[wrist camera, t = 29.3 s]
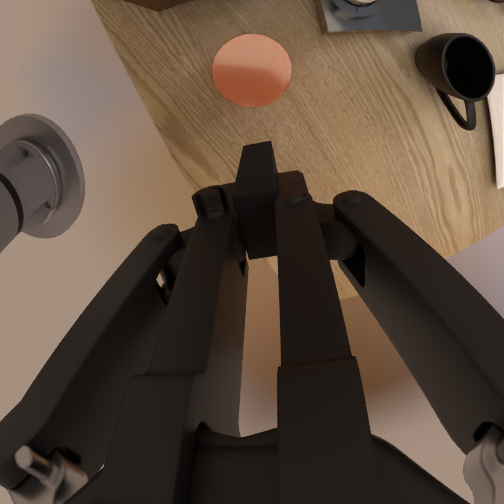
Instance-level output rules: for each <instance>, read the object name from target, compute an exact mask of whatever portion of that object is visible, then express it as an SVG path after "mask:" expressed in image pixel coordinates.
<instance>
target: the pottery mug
mask: <svg viewBox="0 0 504 504" xmlns="http://www.w3.org/2000/svg"><path fill="white" fill-rule="evenodd" d="M489 1H491V2H495V3H502V2H504V0H489Z"/></svg>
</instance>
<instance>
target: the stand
mask: <svg viewBox="0 0 504 504" xmlns="http://www.w3.org/2000/svg"><path fill="white" fill-rule="evenodd" d="M124 1H127V2H130V3H133V4H136V5H139V6H142V7H145V8H148V9H151V10H154V11H157V12H160V11H162V10H165V9H168V8H171V7H174V6H177V5H180V4H184V3H187V2H190V1H194V0H124Z"/></svg>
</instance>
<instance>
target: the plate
mask: <svg viewBox="0 0 504 504" xmlns="http://www.w3.org/2000/svg"><path fill="white" fill-rule="evenodd" d="M487 99H488V105H489V111H490V118H491V125H492V133H493V142H494V153H495V167H496V187H497V189H500V188H502V187H504V74H499V75H495V82H494V85H493V88H492V90H491V92H490V93H489V95H488V96H487Z"/></svg>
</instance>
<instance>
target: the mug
mask: <svg viewBox="0 0 504 504" xmlns="http://www.w3.org/2000/svg"><path fill="white" fill-rule="evenodd" d="M415 62H416V66H417V68H418V70H419V72H420V73H421V74H422V75H423V76H424V77H425V78H426V79H427V80H428V81H429V82H430V83H432V84H433V85H434V86H435V88H436V91H437V93H438V95H439V97H440V98H441V100H442V101H443V103H444V105H445V106H446V108H447V109H448V111H449V112H450V114H451V115H452V117H453V118H454V120H455V121H456V122H457V124H458V125H459V126H460V127H461V128H463V129H465V130H474V129H475V126H476V111H475V104H474V102H476V101H480V100H482V99H484V98H485V97H486V96H488V95H489V93H490V92H491V90H492V88H493V85H494V82H495V66H494V61H493V58H492V56H491V54H490V52H489V50H488V49H487V47H486V46H485V45H484V44H483V43H482V42H481V41H480V40H479V39H478V38H476V37H474V36H472V35H469V34H466V33H446V34H441V35H438V36H436V37H433V38H431V39H429V40H428V41H427V42H425V43H424V44H422V45H421V46H419V48H418V49H417V51H416V55H415ZM448 94H449V95H451V96H454V97H456V98H459V99H462V100H464V103H465V107H466V114H467V122H466V121H465V120H464V118H463V117H462V116H461V114H460V113H459V112H458V110H457V109H456V107H455V106H454V104H453V103H452V101H451V100H450V98H449V96H448Z"/></svg>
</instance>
